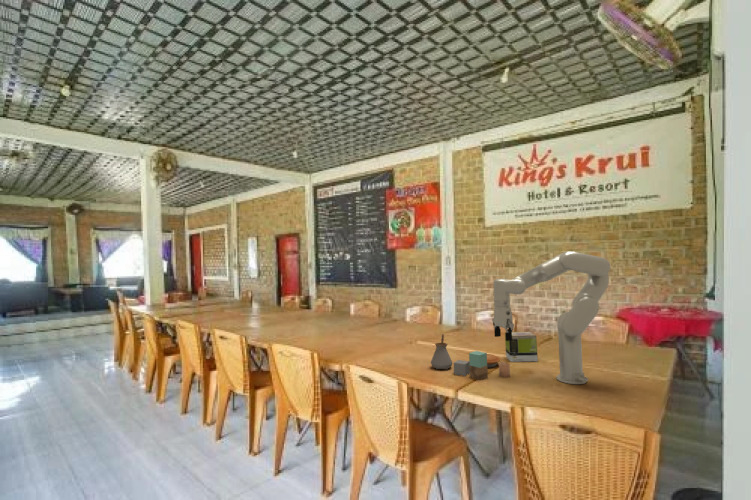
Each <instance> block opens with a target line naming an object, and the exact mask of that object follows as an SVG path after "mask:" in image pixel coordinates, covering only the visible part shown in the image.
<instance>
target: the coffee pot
mask: <svg viewBox="0 0 751 500" xmlns="http://www.w3.org/2000/svg"><path fill="white" fill-rule="evenodd" d="M440 337H441V339H440V340H441V342H436V343H434V345H435V351H434V352H433V356H432V358H431V361H430V364H431V366H432V367H433V368H434V369H435V368H436V369H435V370H437V369H447V370H449V369H450V368H451V367H452V365H453V361H452V359H451V356H450V354H449V352H448V349H447V346H448V343H446V342H444V339H445V334H442V335H441V336H440ZM448 368H449V369H448Z"/></svg>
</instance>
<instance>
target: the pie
mask: <svg viewBox="0 0 751 500" xmlns="http://www.w3.org/2000/svg"><path fill="white" fill-rule="evenodd" d="M500 361H501V359H500V357H498V356H497V355H495V354H491V353H487V369H490V368H491V369H492V368H495V367H496V366H497V365H498V364H499V363H500Z"/></svg>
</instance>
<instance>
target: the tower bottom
mask: <svg viewBox="0 0 751 500" xmlns="http://www.w3.org/2000/svg"><path fill="white" fill-rule="evenodd" d="M488 371H489V370H488V368H487V366H484V367H481V368H478V367H474V366H470V373H469V377H470V378H472V377H473V378H472V379H474V378H475V379H474V380H476V379H477V380H476V381H482V380H486V378H487V379H489V377H488V376H489V373H488ZM481 379H482V380H481Z"/></svg>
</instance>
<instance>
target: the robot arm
mask: <svg viewBox="0 0 751 500" xmlns="http://www.w3.org/2000/svg"><path fill="white" fill-rule="evenodd" d="M569 271H574V272H577V273H582V274H585V275H586V274H587V280H586V282H585V284H583V286H582V288H581V289H580V290H579V292H578V293H577V294H576V296H574V298H573V299H572V303H571V306H572V307H571V309H570V310H569V311H566V312H562V313H561V314H560V315H559V316H558V318H557V322H556V325H557V333H558V334H557V336H558V356H559V357H558V358H559V374H557V375H556V380H557V381H559V382H561V383H564V384H569V385H583V384H586V383H587V382H588V381H589V378H588V377H587V376H585V372H583V371H584V370H583V351H582V349H583V347H582V346H583V345H582V335H583V333H584V332H585V331H586V329H587V328H588V327H589V325H590V324H591V323H592V322H593V321H594V319H595V318H596V317H597V315H598V313H599V310H600V303H599V301H600V300H601V298H602V297H603V295H604V293H605V292H606V290H607V289H608V286H609V283H610V282H609V281H610V276H609V272H610V271H611V263H610V261H609V260H608V259H607V258H604V257H602V256H597V255H591V254H587V253H582V252H577V251H573V250H568V251H567V250H566V251H564V252H561V253H560V254H558V255H556V256H553V257H552V258H549V259H548V260H546V261H544V262H542V263H539V265H537V266H535V267H533V268H531V269H529V270H527V271H525V272H523V273H521V274H519V275H518V276H515V277H514V278H512V279H507V278H496V279H494V280H493V281H492V282H493V283H492V284H493V285H492V287H493V288H492V289H493V317H492V319H491V320H492V326H493V331H494V332H493V333H494V337H495V338H498V337H502V336H501V334H502V333H501V330H502V329H501V328H503V329H504V330H505V332H504V337H505V336H506V341H511V340H512V333H513V332H514V331H513V330H514V326H515V324H514V323H513V314H512V307H511V295H513V294H514V295H522V294H524V293H525V292H526V290H527V289H528V288H530V287H533V286H535V285H537V284H539V283H544V282H549V281H551V280H553V279H555V278H557V277H559V276H561V275H562V274H565V273H568V272H569ZM510 294H511V295H510Z"/></svg>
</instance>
